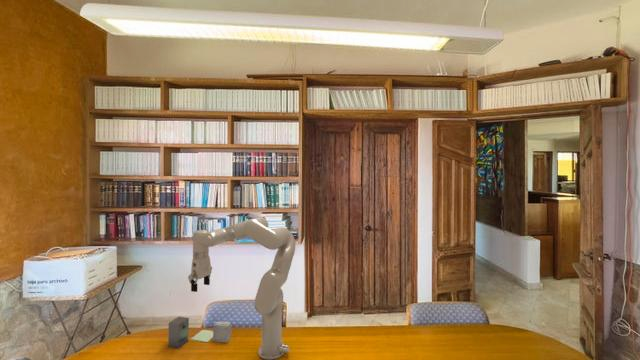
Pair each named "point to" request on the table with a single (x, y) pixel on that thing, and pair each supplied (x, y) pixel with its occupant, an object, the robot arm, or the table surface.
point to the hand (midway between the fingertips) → (200, 287)
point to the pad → (203, 336)
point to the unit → (178, 332)
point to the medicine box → (222, 332)
